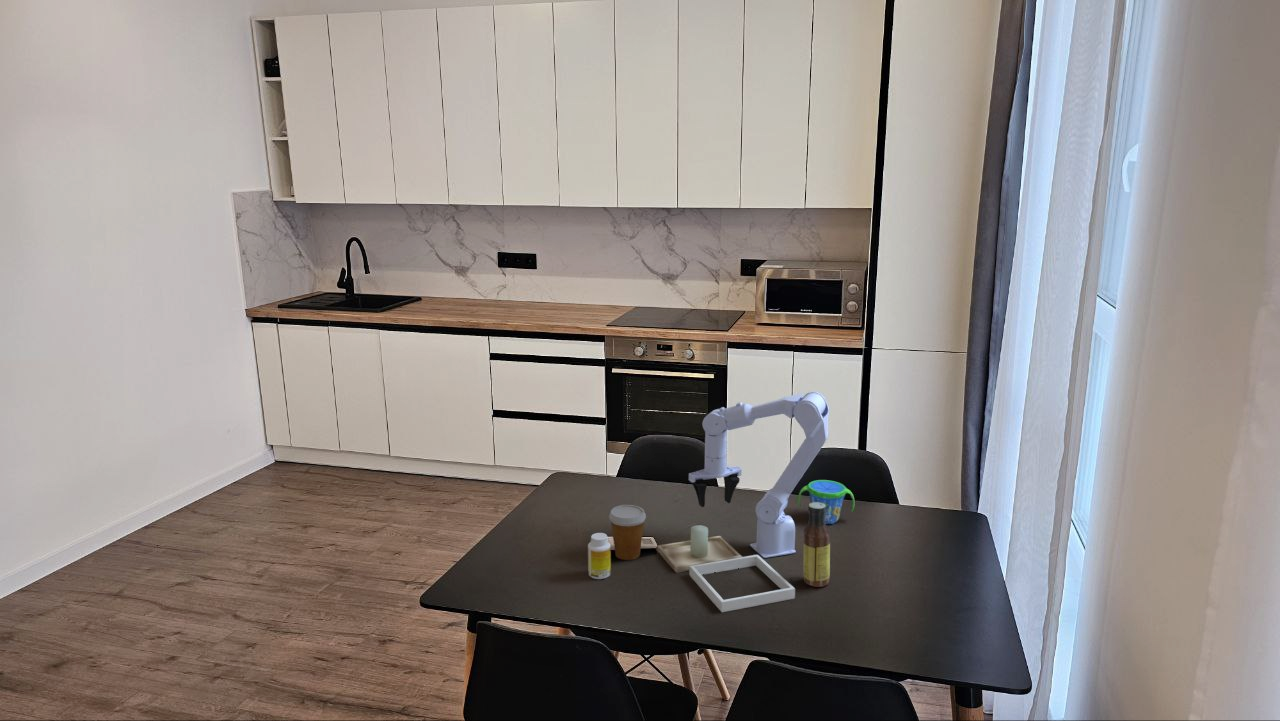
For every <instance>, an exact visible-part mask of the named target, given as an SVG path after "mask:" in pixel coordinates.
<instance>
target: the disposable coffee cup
mask: <svg viewBox="0 0 1280 721" xmlns="http://www.w3.org/2000/svg"><path fill="white" fill-rule="evenodd" d="M646 518H647V514H646V513H645V510H644V508H642V507H641V506H639V505H638V506H637V505H634V504H621V505H617V506H614V507H613V508H612V509H611V510H610V513H609V515H608V519H609V520H610V524H611V530H612V539H613V546H614V552H615V553H614V554H615V557H616V558H617V559H620V560H622V561H632V560H636V559H638V558H639V557H640V555H641V549H642V548H641V547H642V541H643V532H644V525H645V521H646Z"/></svg>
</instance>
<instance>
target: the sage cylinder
mask: <svg viewBox="0 0 1280 721" xmlns="http://www.w3.org/2000/svg"><path fill="white" fill-rule="evenodd" d="M708 537H709V528H708V527H707V526H705V525H701V524H700V525H698V524H697V525H692V526H691V527H690V540H691V553H690V554H691V556H693V557H695V558H704V557H706V556H707V555H708Z"/></svg>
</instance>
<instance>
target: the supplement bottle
mask: <svg viewBox="0 0 1280 721" xmlns="http://www.w3.org/2000/svg"><path fill="white" fill-rule="evenodd" d="M611 545H612V544H611V542H609V541H608V535H607V534H606V533H604V532H596V533H593V534H592V535H591V536H590V542H589V543H588V544H587V569H588V570H587V571H588V572H587V574H588V576H589V577H590V578H592V579H594V580H602V579H607V578H608V577H610V576H611V573H612V568H611V567H612V558H611V557H612V555H611V554H612V551H611Z"/></svg>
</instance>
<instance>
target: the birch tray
mask: <svg viewBox="0 0 1280 721" xmlns="http://www.w3.org/2000/svg"><path fill="white" fill-rule="evenodd" d="M656 547H657V549H656V550H657V552H658V554H659V553H660V554H659V555H660V556H661V557H662V559H663V560H665V562H666V563H667V564H668V566H669V567H670V568H671V569H672V570H673V571H674V573H675V572H676V573H675V574H679V573H684V572H690V566H692V565H698V564H704V563H710V562H716V561H722V560H728V559H734V558H740V557H743V556H742V555H741V553H739V551H737V550H736V549H735V548H734V547H733V546H731V544H730V543H728V541H726V540H725V539H724V537H722V536H721V535H716V536H710V537H709V536H708V555H707V556H706V557H704V558H695V557H693V556H691V554H690V553H691V539H690V540H685V541H678V542H672V543H667V544H666V543H665V544H659V545H658V544H657V546H656Z"/></svg>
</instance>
